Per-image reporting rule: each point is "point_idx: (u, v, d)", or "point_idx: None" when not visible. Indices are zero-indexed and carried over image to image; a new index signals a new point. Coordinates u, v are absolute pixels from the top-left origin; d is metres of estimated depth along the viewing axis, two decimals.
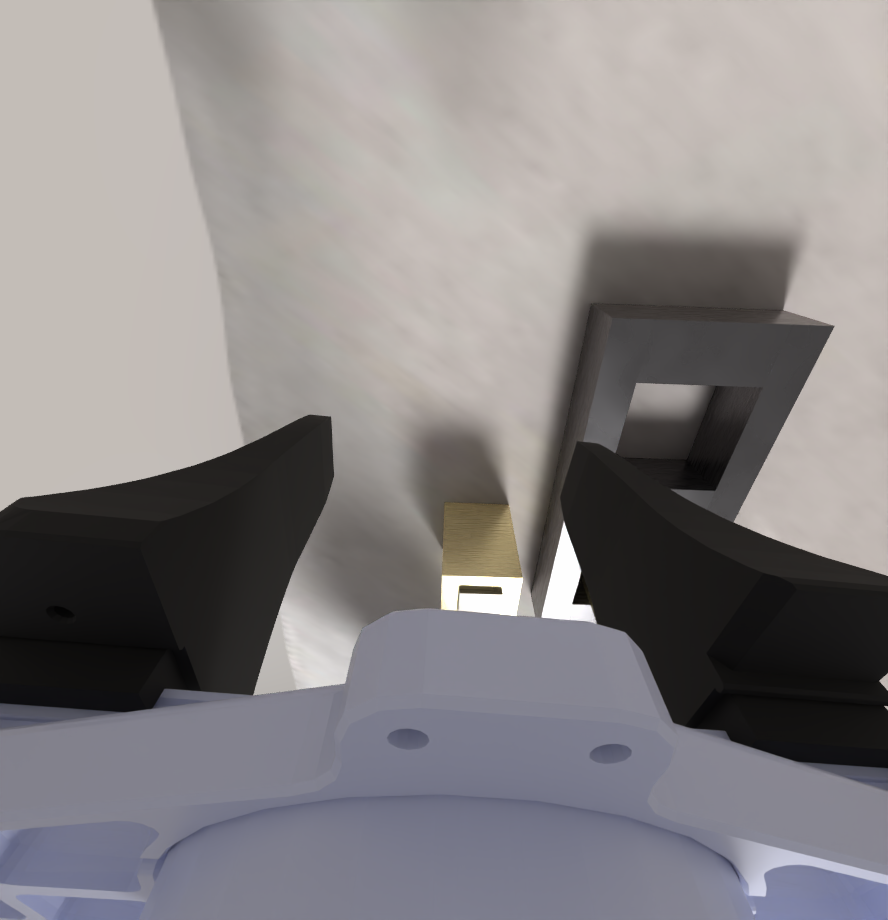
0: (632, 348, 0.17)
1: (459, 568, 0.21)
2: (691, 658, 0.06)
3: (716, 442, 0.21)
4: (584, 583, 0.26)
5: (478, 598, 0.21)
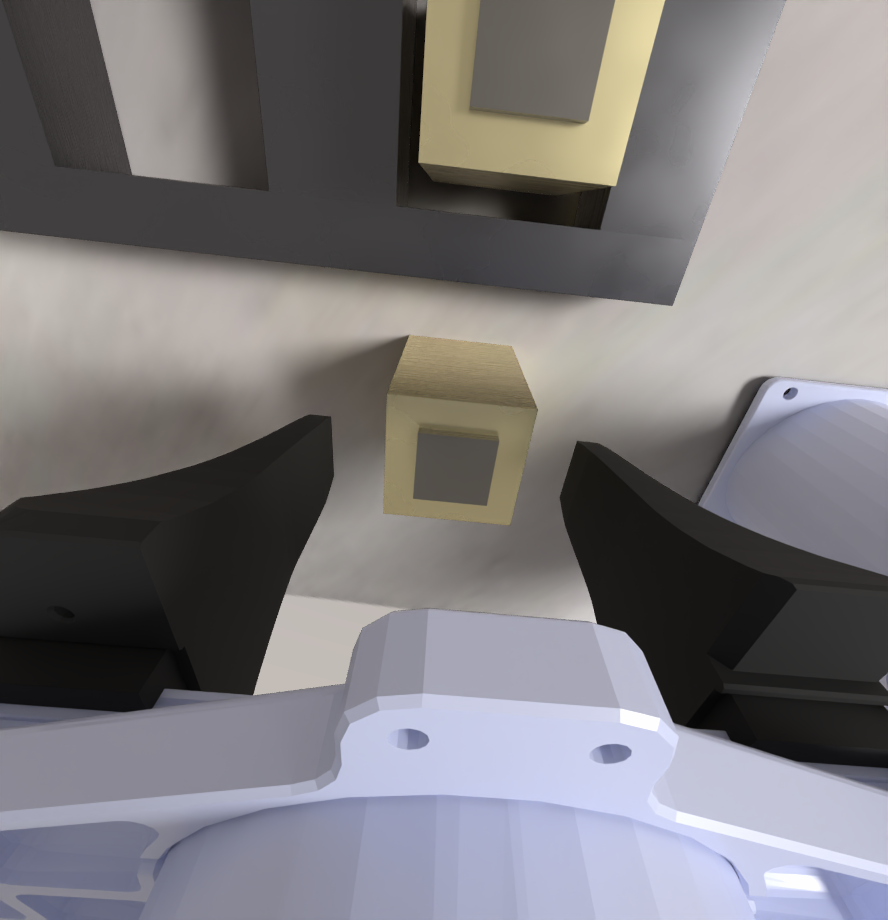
0: (5, 184, 0.11)
1: None
2: (691, 658, 0.06)
3: None
4: (564, 192, 0.11)
5: (426, 472, 0.12)
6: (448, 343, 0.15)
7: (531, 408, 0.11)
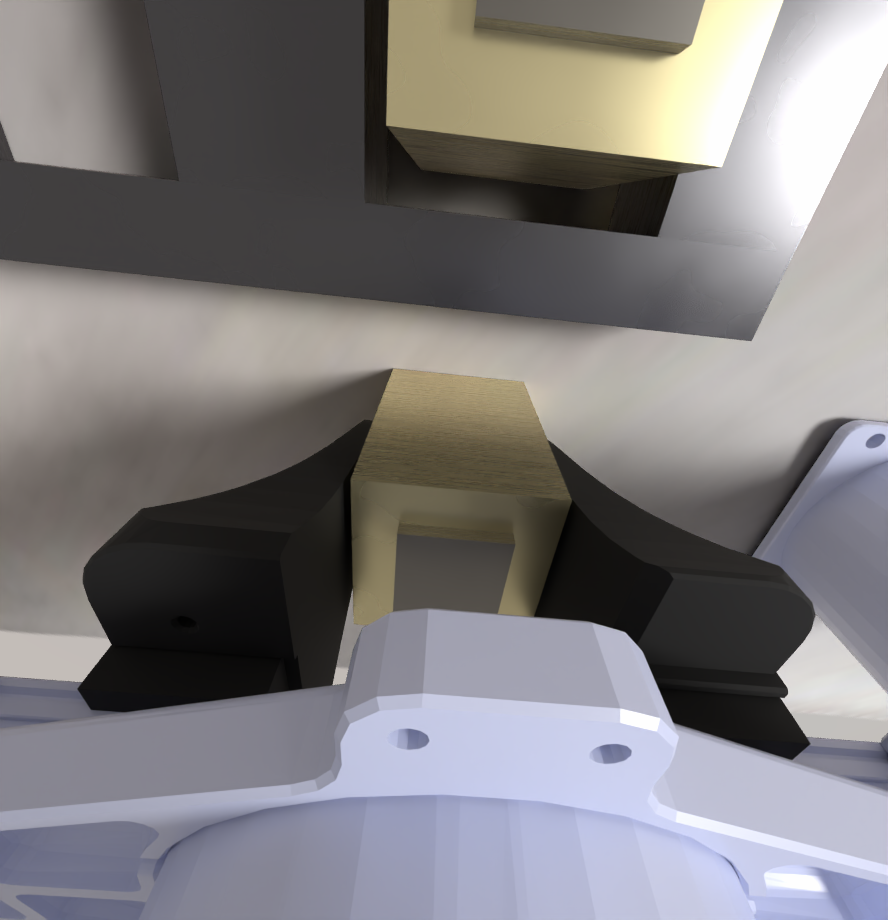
0: None
1: None
2: None
3: None
4: (604, 183, 0.08)
5: (411, 581, 0.08)
6: (442, 380, 0.12)
7: (562, 498, 0.07)
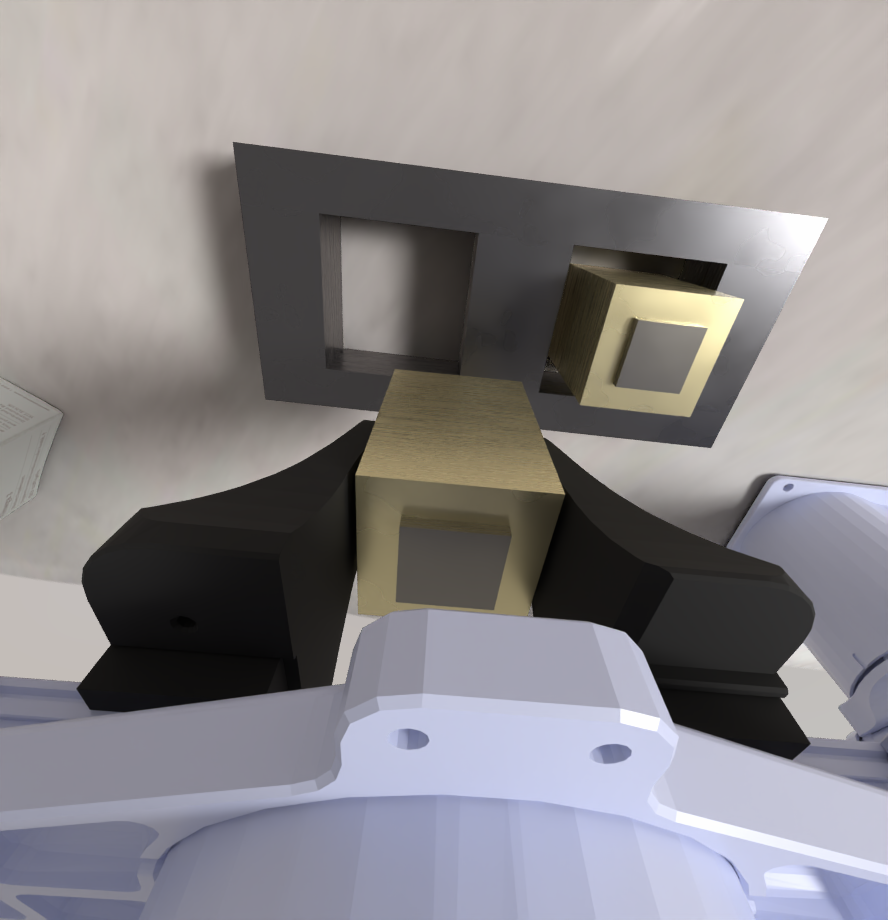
0: (290, 377, 0.17)
1: None
2: None
3: None
4: None
5: (412, 572, 0.09)
6: (443, 380, 0.12)
7: (556, 492, 0.08)
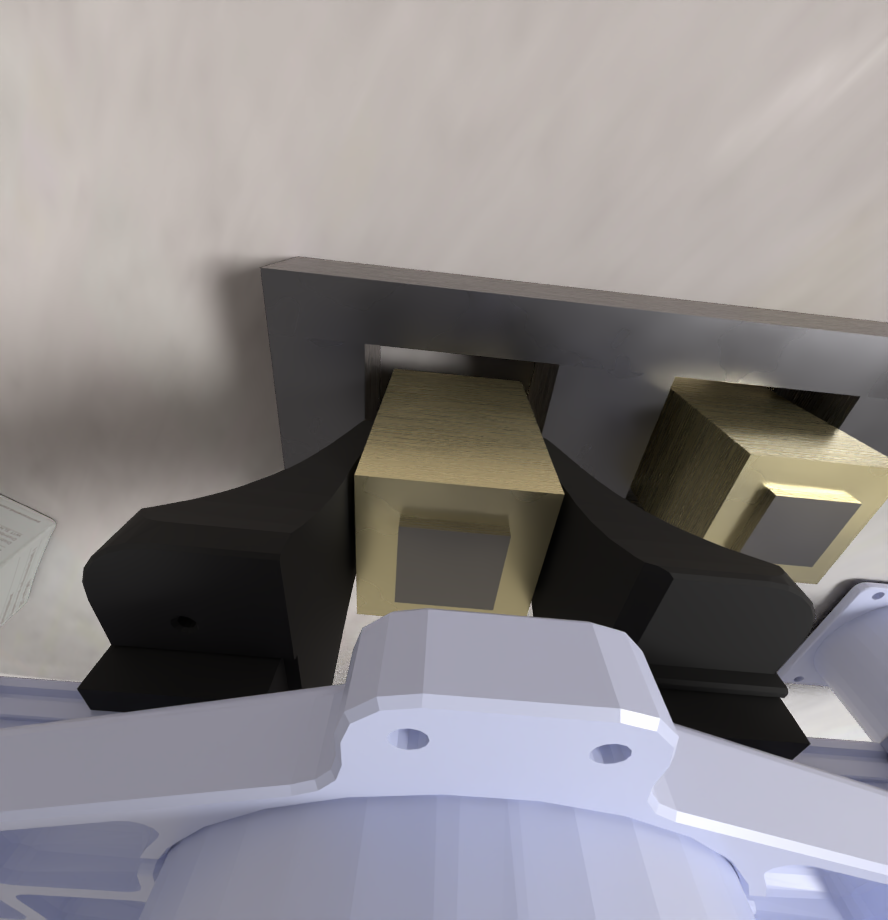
0: None
1: None
2: None
3: None
4: None
5: (412, 572, 0.09)
6: (442, 380, 0.12)
7: (555, 492, 0.08)
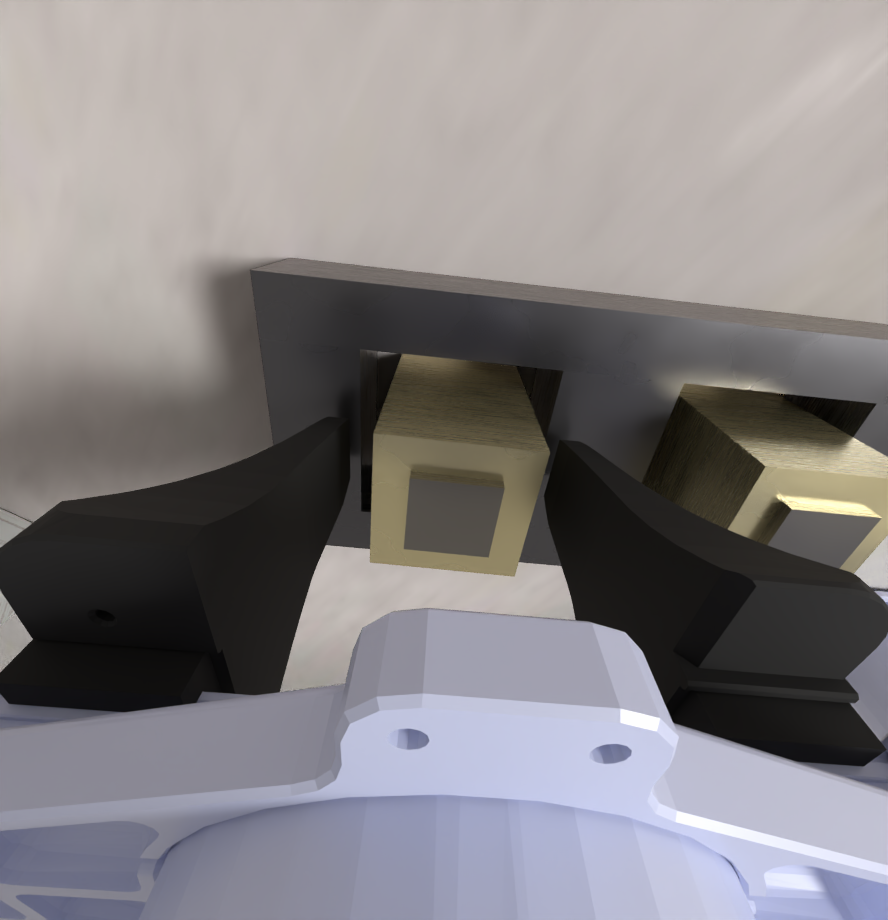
0: None
1: None
2: (659, 655, 0.06)
3: None
4: None
5: (419, 521, 0.10)
6: (445, 363, 0.14)
7: (542, 451, 0.09)
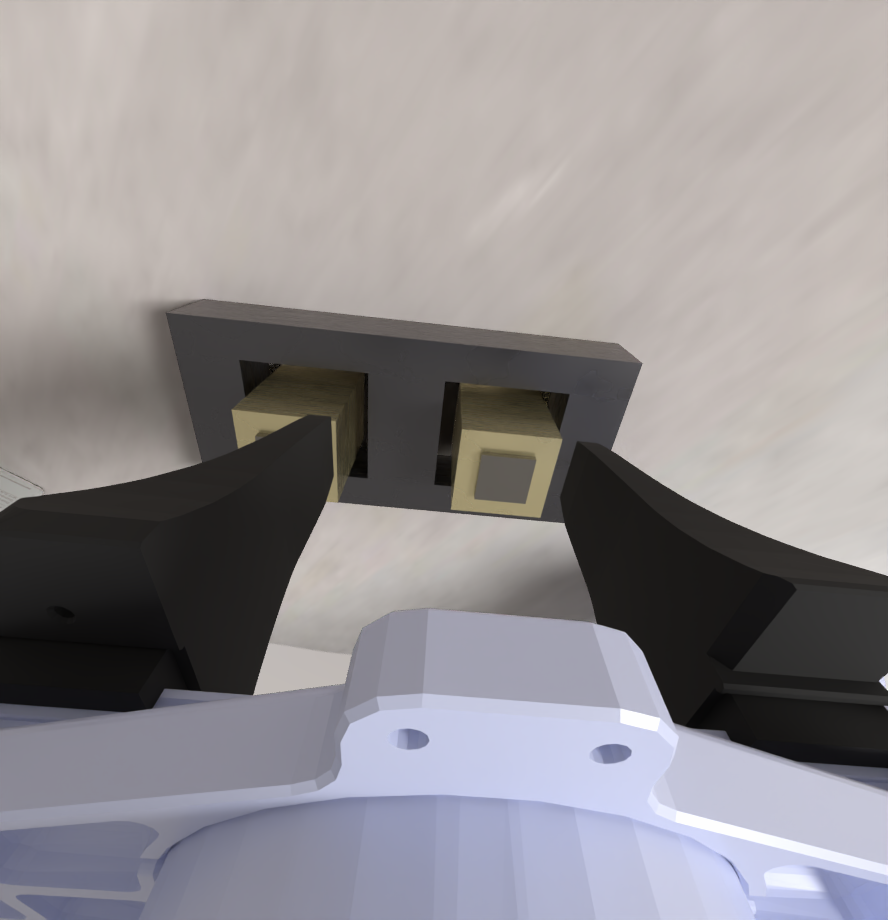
0: None
1: None
2: (691, 658, 0.06)
3: None
4: None
5: None
6: (312, 368, 0.20)
7: (331, 420, 0.16)
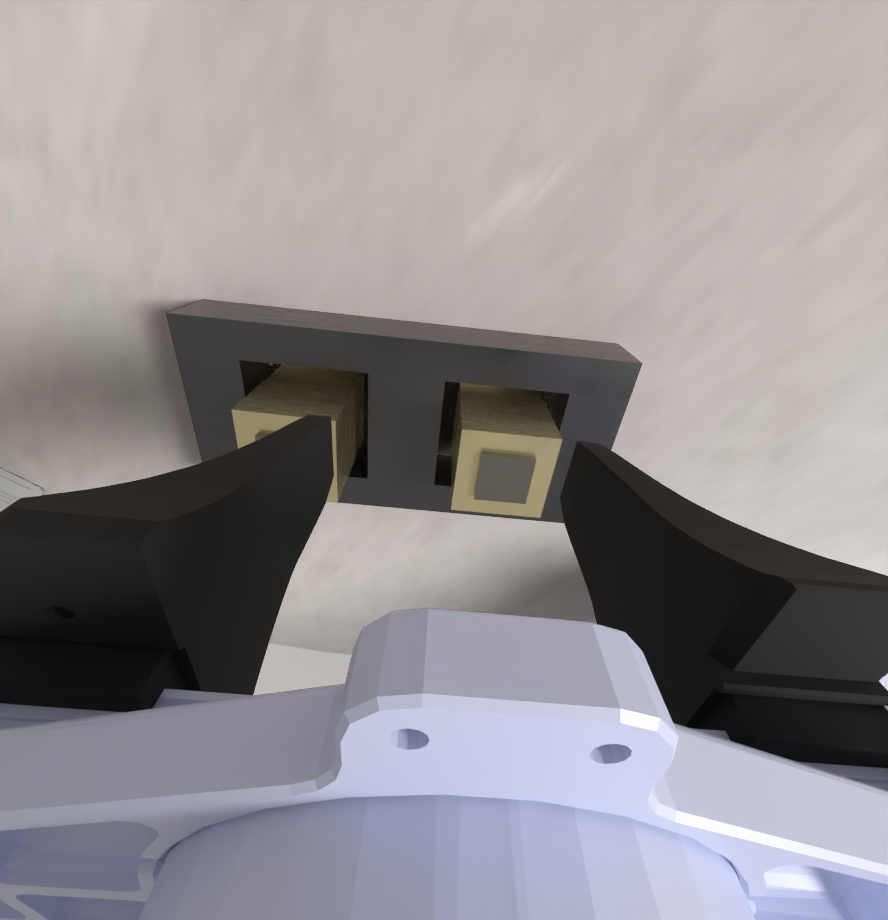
0: None
1: None
2: (691, 658, 0.06)
3: None
4: None
5: None
6: (312, 368, 0.20)
7: (331, 420, 0.16)
